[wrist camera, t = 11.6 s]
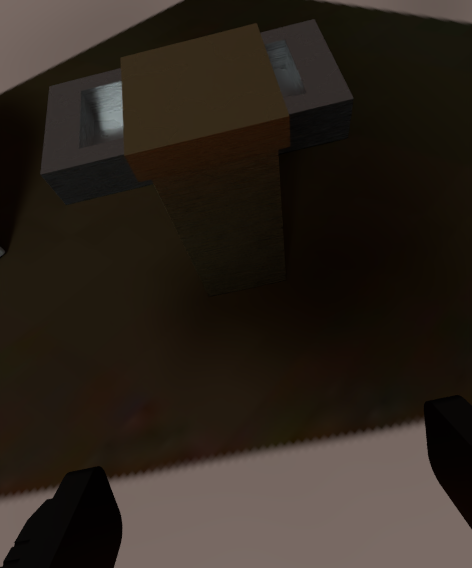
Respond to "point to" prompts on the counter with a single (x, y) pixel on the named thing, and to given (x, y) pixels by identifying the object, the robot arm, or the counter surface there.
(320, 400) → the counter surface
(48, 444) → the counter surface
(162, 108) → the brown square post
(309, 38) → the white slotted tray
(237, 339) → the counter surface
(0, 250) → the supplement box
